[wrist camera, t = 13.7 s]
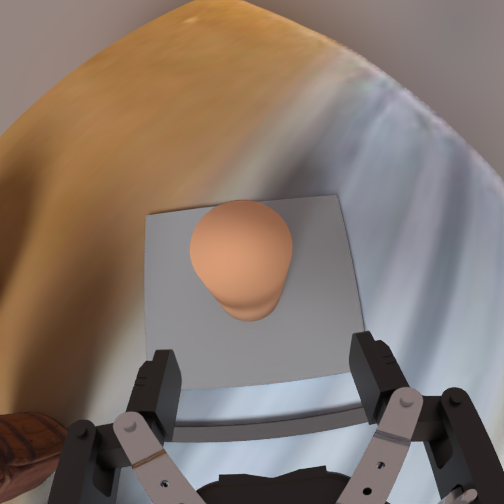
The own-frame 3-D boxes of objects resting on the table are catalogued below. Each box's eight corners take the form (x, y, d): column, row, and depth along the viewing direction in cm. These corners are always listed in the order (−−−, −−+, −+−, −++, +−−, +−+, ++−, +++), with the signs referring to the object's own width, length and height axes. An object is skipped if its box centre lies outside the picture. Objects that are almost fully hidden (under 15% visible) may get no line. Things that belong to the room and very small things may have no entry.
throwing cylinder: (277, 256, 23) (285, 195, 15) (284, 318, 22) (298, 291, 13) (215, 262, 23) (189, 205, 15) (219, 324, 22) (191, 301, 13)
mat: (347, 196, 25) (348, 193, 25) (384, 416, 19) (386, 417, 19) (136, 219, 25) (135, 217, 25) (145, 439, 19) (143, 440, 19)
